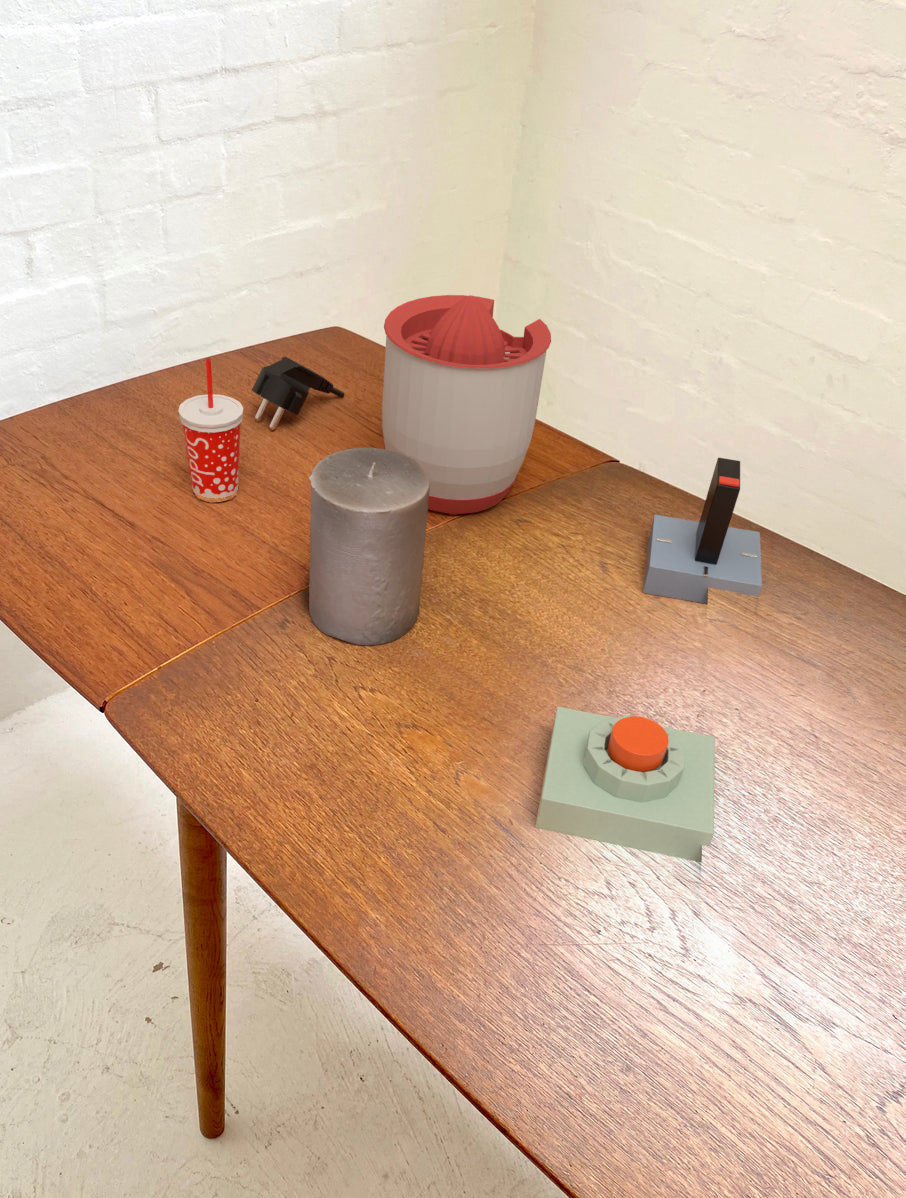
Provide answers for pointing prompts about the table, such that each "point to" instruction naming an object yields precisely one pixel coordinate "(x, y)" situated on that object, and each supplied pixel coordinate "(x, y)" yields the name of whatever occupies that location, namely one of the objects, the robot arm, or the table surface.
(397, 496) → the pillar candle
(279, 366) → the power plug
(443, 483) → the citrus juicer
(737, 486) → the black lever red tip
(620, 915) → the table surface
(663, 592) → the dial panel
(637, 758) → the orange push button
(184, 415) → the beverage cup
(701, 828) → the push button base
